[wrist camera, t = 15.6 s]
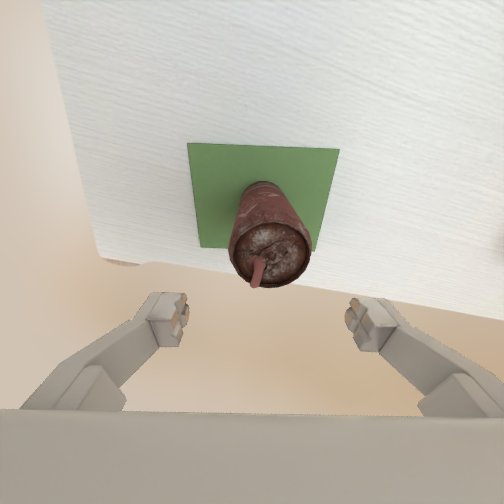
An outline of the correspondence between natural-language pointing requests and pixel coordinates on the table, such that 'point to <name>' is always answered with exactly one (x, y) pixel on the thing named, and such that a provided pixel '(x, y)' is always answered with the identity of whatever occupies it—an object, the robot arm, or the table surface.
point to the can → (268, 238)
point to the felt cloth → (251, 171)
